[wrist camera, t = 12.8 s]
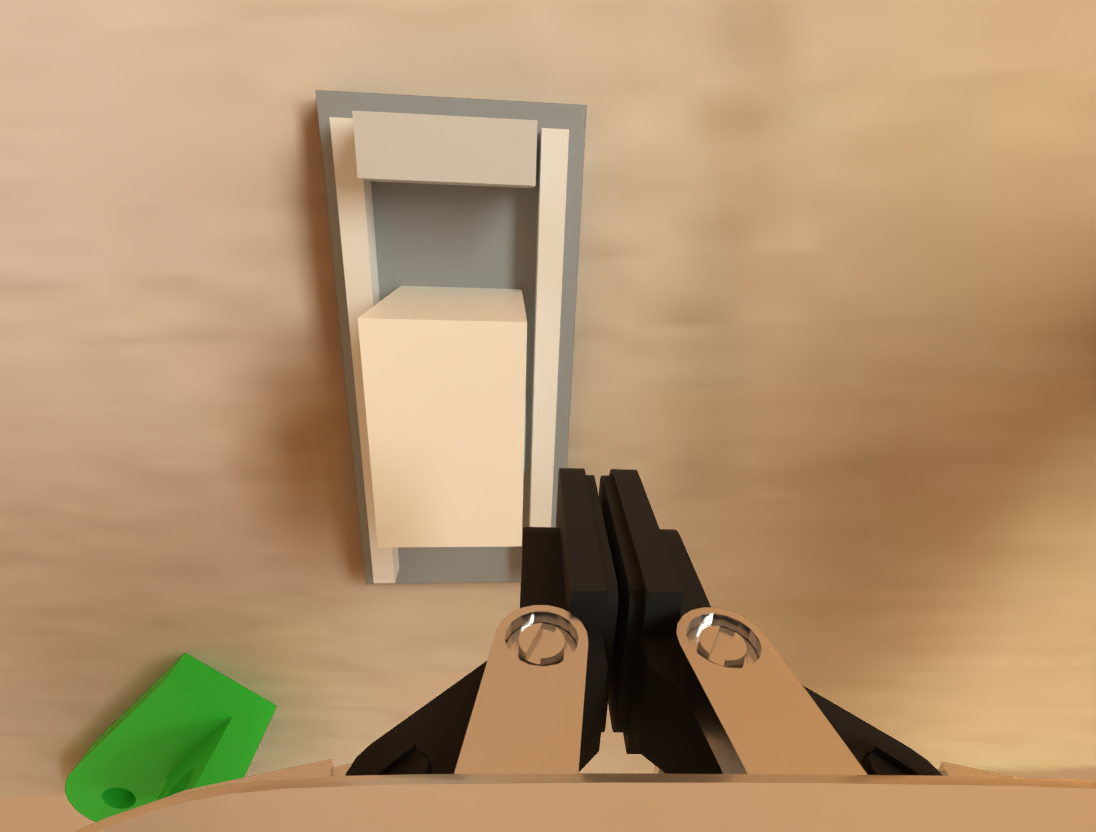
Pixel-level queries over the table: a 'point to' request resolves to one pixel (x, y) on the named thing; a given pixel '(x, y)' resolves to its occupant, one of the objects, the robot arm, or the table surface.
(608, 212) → the table surface
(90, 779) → the mechanical part
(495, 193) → the rail plate
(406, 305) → the block
